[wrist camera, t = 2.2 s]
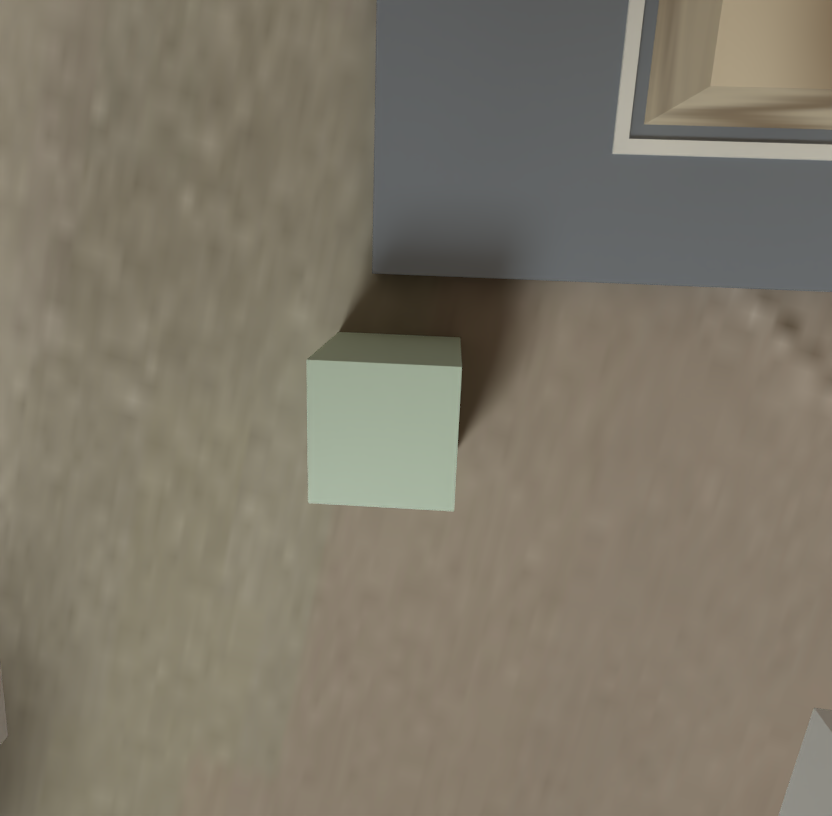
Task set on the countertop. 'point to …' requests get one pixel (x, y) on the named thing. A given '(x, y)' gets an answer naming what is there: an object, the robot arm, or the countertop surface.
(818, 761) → the robot arm
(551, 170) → the board
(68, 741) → the countertop surface
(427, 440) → the sage block
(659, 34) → the maple block
